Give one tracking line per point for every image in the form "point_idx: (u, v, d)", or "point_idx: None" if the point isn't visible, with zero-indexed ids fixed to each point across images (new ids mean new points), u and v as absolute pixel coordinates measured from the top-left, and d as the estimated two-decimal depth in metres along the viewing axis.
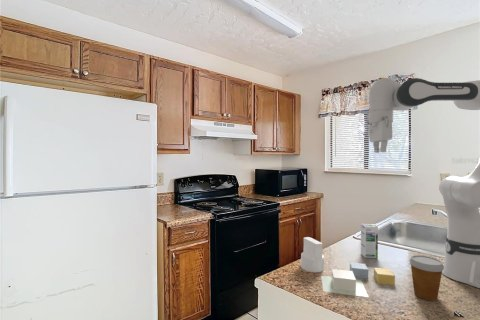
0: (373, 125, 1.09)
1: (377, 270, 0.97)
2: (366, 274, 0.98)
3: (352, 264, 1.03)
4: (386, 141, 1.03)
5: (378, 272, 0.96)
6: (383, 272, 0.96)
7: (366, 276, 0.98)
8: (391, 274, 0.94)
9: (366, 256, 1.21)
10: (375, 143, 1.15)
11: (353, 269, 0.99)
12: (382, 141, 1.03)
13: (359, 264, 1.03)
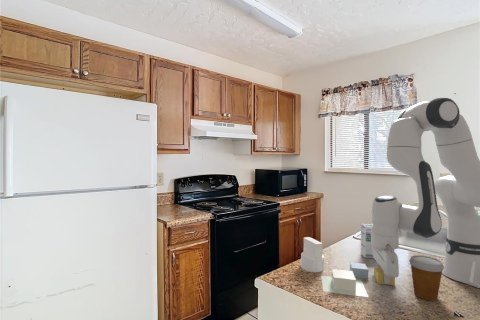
0: (376, 249, 0.96)
1: (377, 270, 0.97)
2: (366, 274, 0.98)
3: (352, 264, 1.03)
4: None
5: (378, 272, 0.96)
6: (383, 272, 0.96)
7: (366, 276, 0.98)
8: None
9: (366, 256, 1.21)
10: None
11: (353, 269, 0.99)
12: None
13: (359, 264, 1.03)
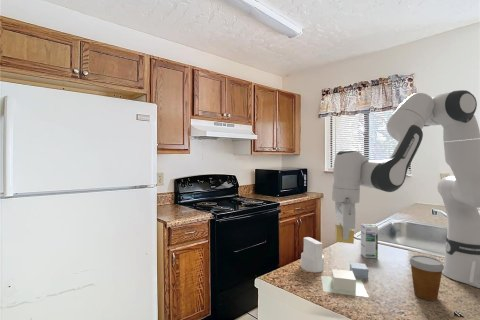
0: (337, 204, 0.92)
1: (337, 226, 0.93)
2: (366, 274, 0.98)
3: (352, 264, 1.03)
4: None
5: (338, 227, 0.92)
6: None
7: (366, 276, 0.98)
8: None
9: (366, 256, 1.21)
10: None
11: (353, 269, 0.99)
12: None
13: (359, 264, 1.03)
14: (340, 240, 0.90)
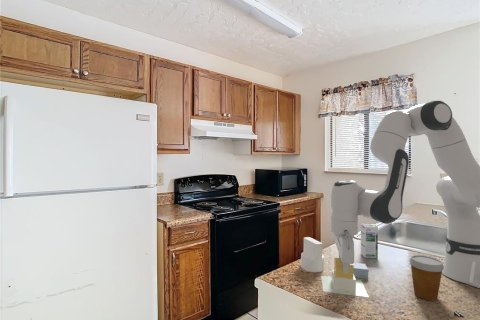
0: (335, 235, 0.92)
1: (337, 260, 0.93)
2: (366, 274, 0.98)
3: None
4: None
5: (337, 262, 0.91)
6: None
7: (366, 276, 0.98)
8: (350, 264, 0.90)
9: (366, 256, 1.21)
10: None
11: (353, 269, 0.99)
12: None
13: (359, 264, 1.03)
14: (340, 275, 0.90)
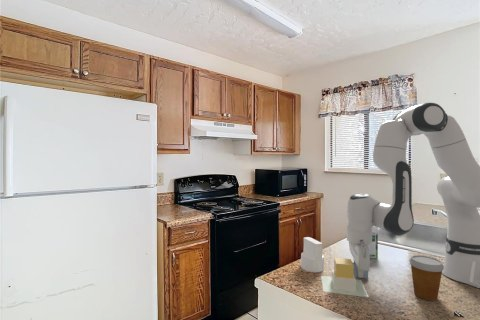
0: (351, 244, 1.01)
1: (337, 260, 0.93)
2: (366, 274, 0.98)
3: None
4: None
5: (337, 262, 0.91)
6: (342, 262, 0.91)
7: (366, 276, 0.98)
8: (350, 264, 0.90)
9: None
10: None
11: (353, 269, 0.99)
12: None
13: None
14: (340, 275, 0.90)
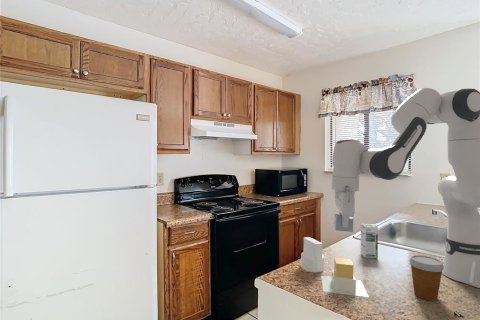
0: (336, 193, 0.92)
1: (337, 260, 0.93)
2: (351, 224, 0.90)
3: (337, 215, 0.94)
4: None
5: (337, 262, 0.91)
6: (342, 262, 0.91)
7: (351, 226, 0.90)
8: (350, 264, 0.90)
9: (366, 256, 1.21)
10: None
11: (337, 218, 0.91)
12: (343, 215, 0.88)
13: None
14: (340, 275, 0.90)
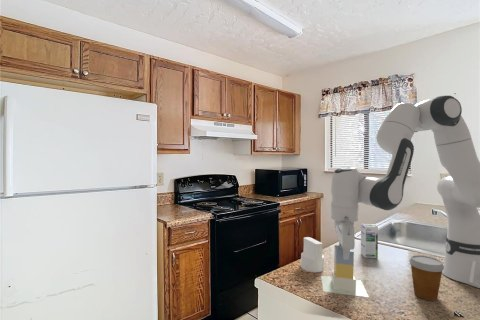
0: (336, 222, 0.92)
1: None
2: (351, 257, 0.89)
3: (337, 247, 0.94)
4: None
5: None
6: None
7: (351, 259, 0.89)
8: None
9: (366, 256, 1.21)
10: None
11: (337, 252, 0.90)
12: None
13: None
14: (340, 275, 0.90)
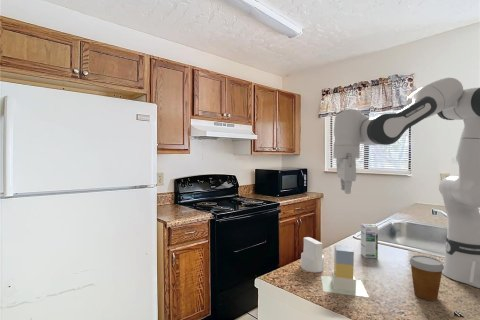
0: (338, 161, 0.96)
1: None
2: (351, 257, 0.89)
3: (337, 247, 0.94)
4: (350, 182, 0.90)
5: None
6: None
7: (351, 259, 0.89)
8: None
9: (366, 256, 1.21)
10: (342, 179, 1.02)
11: (337, 252, 0.90)
12: (346, 181, 0.91)
13: (344, 247, 0.94)
14: (340, 275, 0.90)
